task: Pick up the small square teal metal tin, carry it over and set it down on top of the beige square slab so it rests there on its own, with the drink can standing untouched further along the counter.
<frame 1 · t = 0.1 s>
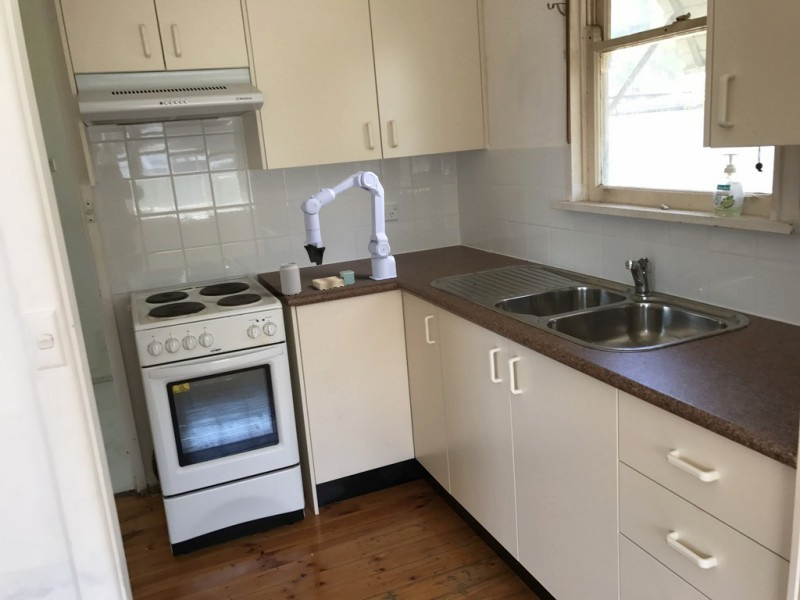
hand: (316, 263, 262), 10 cm above the worktop, tool pointing down, fingers open, 7 cm apart
tin: (347, 283, 269), on the worktop
beige square slab: (328, 287, 267), on the worktop
can: (292, 294, 258), on the worktop
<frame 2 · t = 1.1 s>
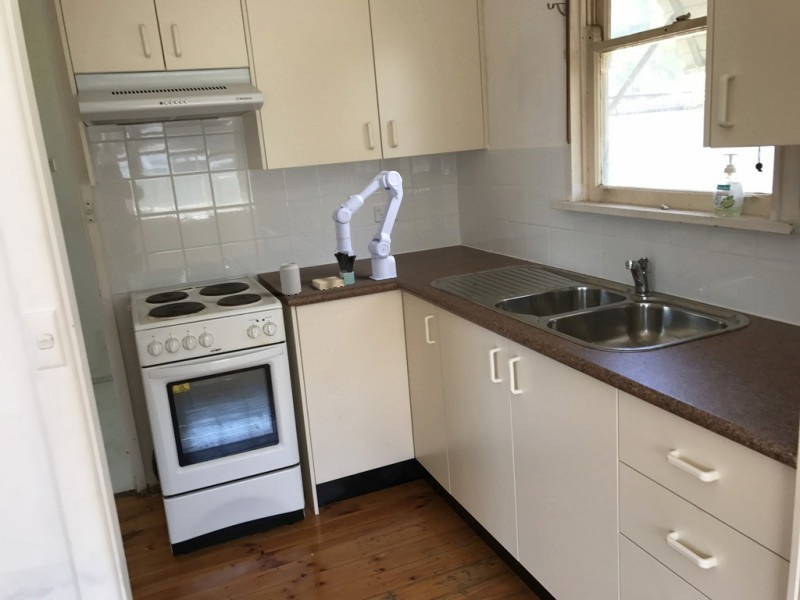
hand: (346, 271, 268), 5 cm above the worktop, tool pointing down, fingers open, 7 cm apart
nothing on the worktop moved.
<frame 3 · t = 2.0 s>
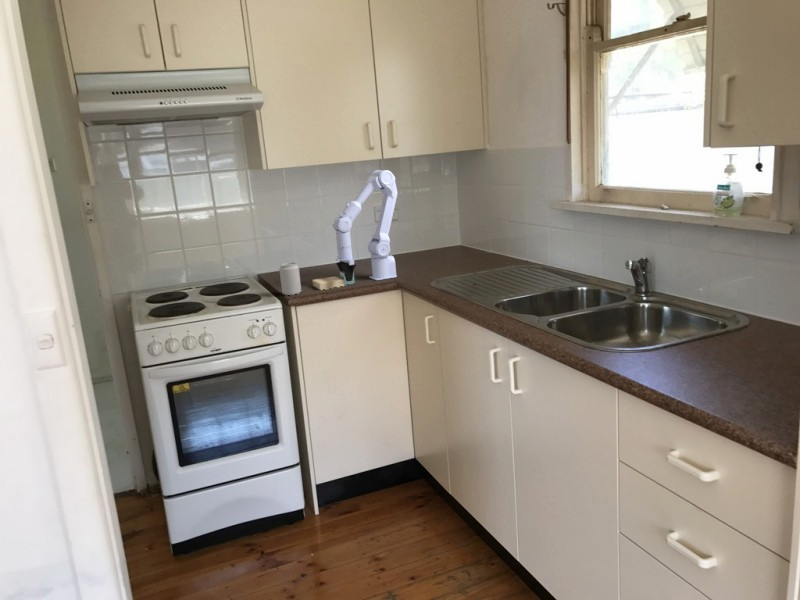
hand: (347, 280, 269), 1 cm above the worktop, tool pointing down, fingers closed on tin, 4 cm apart
tin: (347, 283, 269), on the worktop, touching gripper
everything else where it was.
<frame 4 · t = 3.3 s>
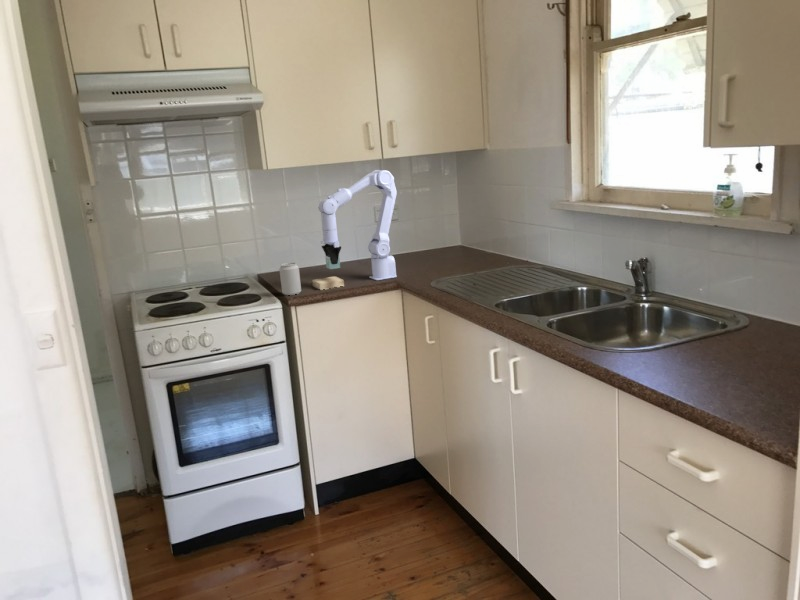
hand: (332, 263, 266), 9 cm above the worktop, tool pointing down, fingers closed on tin, 4 cm apart
tin: (333, 267, 266), point 7 cm above the worktop, touching gripper
everything else where it was.
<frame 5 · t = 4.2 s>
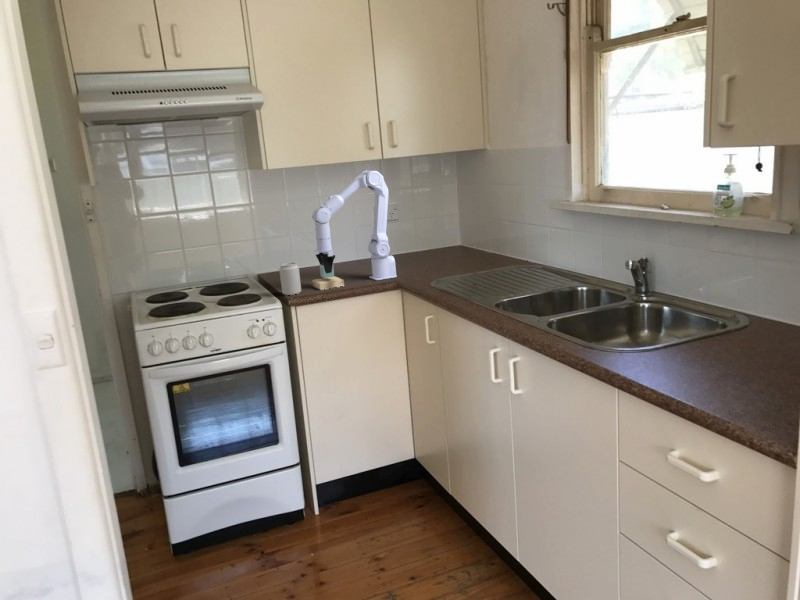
hand: (326, 271, 266), 6 cm above the worktop, tool pointing down, fingers closed on tin, 4 cm apart
tin: (327, 276, 266), point 4 cm above the worktop, touching gripper
everything else where it was.
when the fingers open (5 cm above the worktop, at t = 4.9 s): tin stays where it is, resting on beige square slab.
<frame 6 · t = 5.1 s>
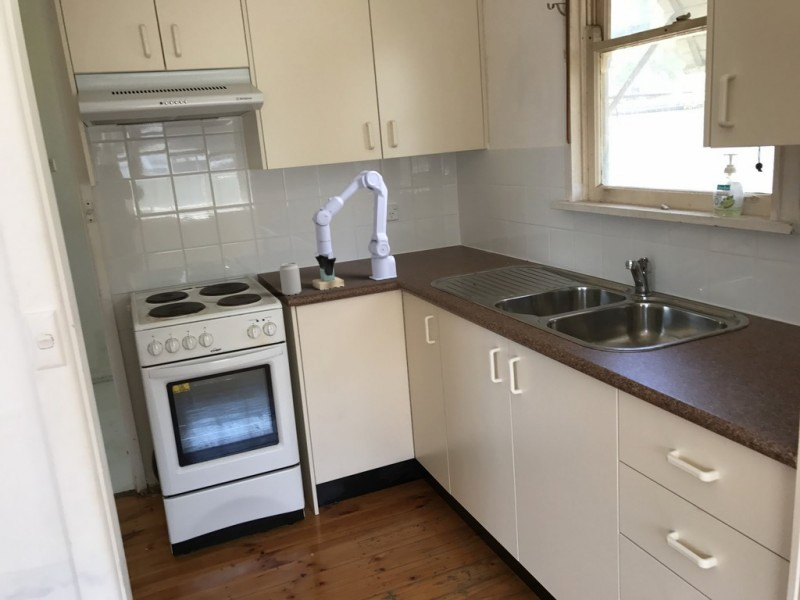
hand: (327, 274, 266), 5 cm above the worktop, tool pointing down, fingers open, 6 cm apart
tin: (327, 280, 266), point 2 cm above the worktop, touching beige square slab
beige square slab: (328, 287, 267), on the worktop, touching tin
everything else where it was.
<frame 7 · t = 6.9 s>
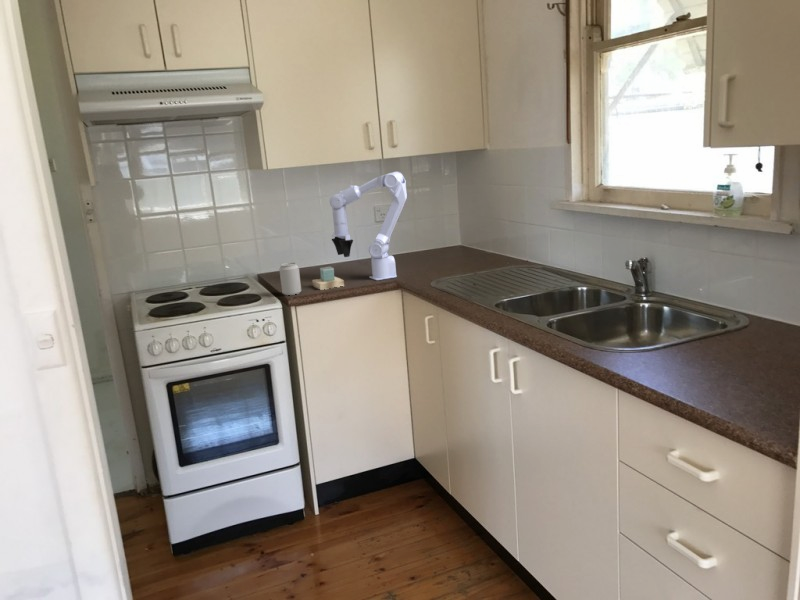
hand: (343, 255, 277), 10 cm above the worktop, tool pointing down, fingers open, 7 cm apart
nothing on the worktop moved.
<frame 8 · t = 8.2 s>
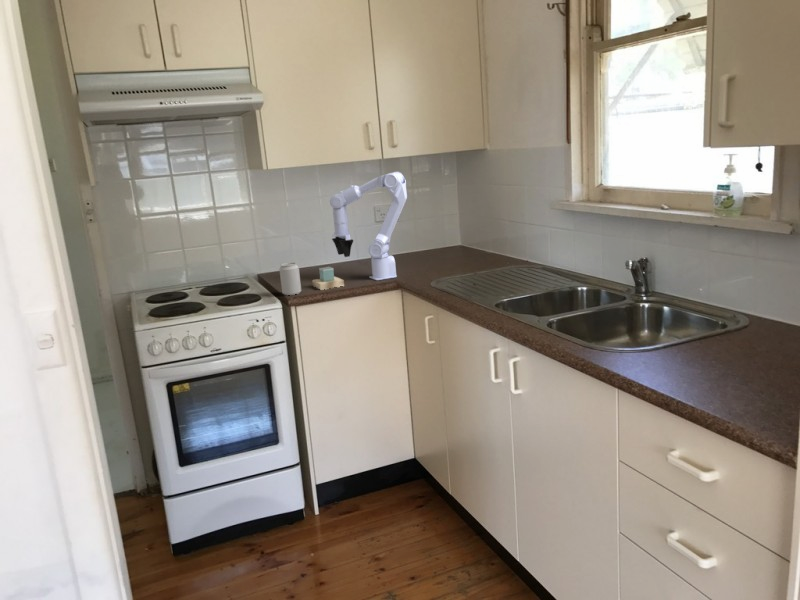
hand: (344, 255, 277), 10 cm above the worktop, tool pointing down, fingers open, 7 cm apart
nothing on the worktop moved.
at the end: tin inside the target area on the beige square slab (0.4 cm from its centre), point 3.0 cm above the beige square slab's base; tin tilted 1°; the gripper is holding nothing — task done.
